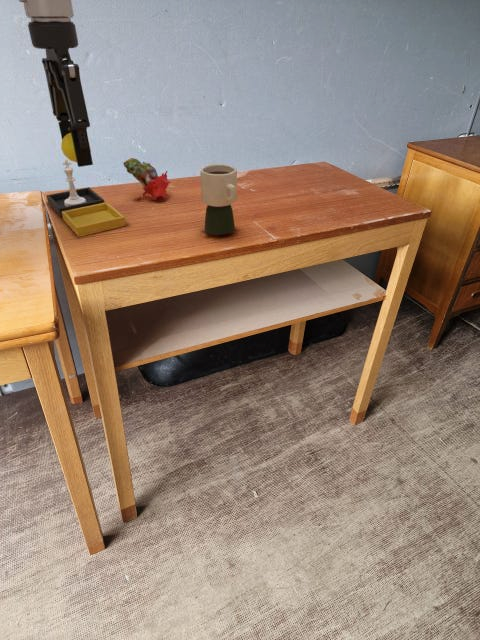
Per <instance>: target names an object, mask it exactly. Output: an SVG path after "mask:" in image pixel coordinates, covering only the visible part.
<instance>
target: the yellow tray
mask: <svg viewBox="0 0 480 640" xmlns="http://www.w3.org/2000/svg"><path fill="white" fill-rule="evenodd" d="M62 216H63V217H62V219H63V221H64V223H65V224H66V225H67V226H68V227H69V228H70V229H71V230H72V231H73V233H75V234H76V236H77V237H79V238H80V237H84V236H88V235H92V234H97V233H100V232H101V233H102V232H105V231H109V230H113V229H119V228H123V227H125V226H127V224H126V217H125V216H124V215H123V214H122V213H120V212H119V211H118V210H117V209H116V208H114V207H113V206H112V205H111V204H110V203H109V202H104V203H101V204H96V205H91V206H86V207H82V208H77V209H72V210H67V211H62Z"/></svg>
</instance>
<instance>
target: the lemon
mask: <svg viewBox="0 0 480 640" xmlns="http://www.w3.org/2000/svg"><path fill="white" fill-rule="evenodd" d="M89 146H90V147H91V144H90V143H89ZM60 148H61V151H62V154H63V155H64V157H65V158H67V160H68V161H69V162H74V163H77V159H76V155H75V150H74V145H73V140H72V135H71V133H68V134H67V135H66V136H64V138H63V139H62V138H61V145H60ZM90 151H91V152H92V148H90Z"/></svg>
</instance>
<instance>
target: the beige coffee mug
mask: <svg viewBox="0 0 480 640" xmlns="http://www.w3.org/2000/svg"><path fill="white" fill-rule="evenodd" d="M199 171H200V172H199V175H200V196H201V197H200V199H201V202H202V203H203V204H204V205H207V206H206V207H205V218H204V232H205V233H206V234H208V235H211V236H225V235H228V234H233V233H234V232H235V230H236V229H235V227H236V226H235V218H234V212H233V211H234V210H233V207H232V205H233V204H234V203H236V201H237V199H238V194H237V186H238V169H237V167H235V166H234V165H231V164H223V163H215V164H208V165H207V164H206V165H204V166H202V167H201V168H200V170H199Z"/></svg>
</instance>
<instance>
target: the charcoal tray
mask: <svg viewBox="0 0 480 640" xmlns="http://www.w3.org/2000/svg"><path fill="white" fill-rule="evenodd" d="M76 192H77V195H79V197H83V198H85V200H86V203H81V204H76V205H71V206H65V205H64V204H65V203H64V201H65V200H66V199H68V198H69V196H70V190H67V191H66V190H65V191H62V192H56V193H51V194H46V200H47V203H48V205H49V206H50V207H51V208H52V209H53V210H54V211H55V212H56V214H57V215H58V216H59V217H60V218H63V216H62V211H67V210H72V209H77V208H82V207H86V206H91V205H96V204H101V203H105V199H104V198H102V196H100V194H97V192H95V191H94V190H93V189H92V188H90V187H83V188H77V189H76Z"/></svg>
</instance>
